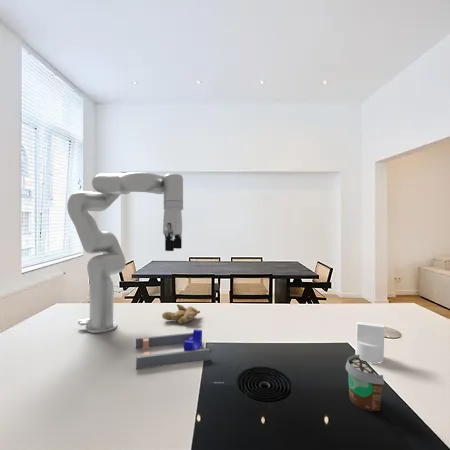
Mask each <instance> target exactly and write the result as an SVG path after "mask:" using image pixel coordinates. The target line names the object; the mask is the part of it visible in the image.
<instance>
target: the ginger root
mask: <svg viewBox="0 0 450 450" xmlns="http://www.w3.org/2000/svg"><path fill="white" fill-rule="evenodd" d="M176 307H177V309H178V310H177V311H175V312H171V311H165V312H163V313H162V314H161V315H162V316H161V317H162V319H164V320H166V321H177V323H178V324H180V325H183V324H186V323H187V322H191V321H192V320H194V319H195V318H196V317H197V315H198V314H200V313H201V311H200V310H197V309H196V308H195V307H193V306H188V307H187V308H185V307H184V306H183V305H181V304H178V303H177V304H176Z"/></svg>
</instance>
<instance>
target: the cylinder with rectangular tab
mask: <svg viewBox="0 0 450 450" xmlns="http://www.w3.org/2000/svg"><path fill="white" fill-rule="evenodd" d="M355 324H356V325H355V354H354V355H359V358H360V359H361V360H363V361H366V362H371V363H378V362H381V361H383V362H384V355H385V353H384V352H385V351H384V350H385V349H384V348H385V325H384V324H383V323H382V324H381V323H373V322H365V321H356V323H355ZM366 362H365V363H366Z"/></svg>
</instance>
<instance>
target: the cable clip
mask: <svg viewBox="0 0 450 450" xmlns="http://www.w3.org/2000/svg"><path fill="white" fill-rule="evenodd" d="M192 333H193V337H190V338H189V340H185V342H184V344H183V351H190V350H199V349H201V348H202V346H203V329H196V328H195V329H193V331H192Z"/></svg>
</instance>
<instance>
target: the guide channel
mask: <svg viewBox="0 0 450 450" xmlns="http://www.w3.org/2000/svg"><path fill="white" fill-rule="evenodd" d="M190 337H193V332H187V333H175V334H166V335H155V336H145V337H144V336H143V337H136V338H135V349H136V350H137V349H142V351H143V352H144V353H143V355H138V356H135V358H136V359H135V360H136V361H135V362H136V363H135V364H136V365H135V369H136V370H139V369H148V367H149V368H154V367H156V366H157V367H163V366H164V365H165V366H172V365H173V366H174V365H179V364H181V365H182V364H187V363H188V364H189V363H195V362H205V361H210V360H211V358H210V354H211V353H210V351H211V349H210V347H209V348H200V349H199V350H190V351H184V350H183V351H182V350H181V351H173V352H165V353H163V352H162V353H155V354H151V351H149V350H150V348H157V347H164V346H166V347H167V346H173V345H174V346H175V345H184V342H185V340H189V338H190ZM157 367H156V368H157Z"/></svg>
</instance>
